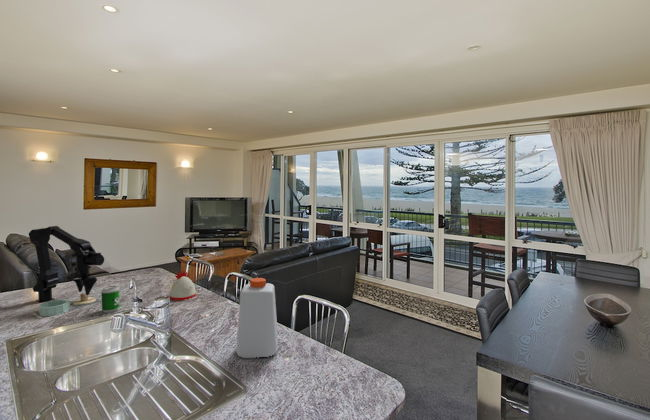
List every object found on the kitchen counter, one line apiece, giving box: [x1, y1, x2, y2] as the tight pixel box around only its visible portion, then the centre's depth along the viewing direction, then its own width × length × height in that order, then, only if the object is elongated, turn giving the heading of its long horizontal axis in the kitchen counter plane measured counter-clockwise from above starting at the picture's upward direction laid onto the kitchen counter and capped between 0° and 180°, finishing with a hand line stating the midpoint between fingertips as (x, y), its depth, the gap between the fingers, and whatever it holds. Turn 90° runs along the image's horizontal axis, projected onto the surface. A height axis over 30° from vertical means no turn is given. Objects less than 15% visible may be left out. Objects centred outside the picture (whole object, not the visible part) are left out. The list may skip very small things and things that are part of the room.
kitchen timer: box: [169, 270, 197, 301], centre depth 188 cm, size 14×14×15 cm
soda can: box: [100, 285, 121, 314], centre depth 165 cm, size 8×8×12 cm
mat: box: [69, 296, 102, 309], centre depth 177 cm, size 14×12×1 cm
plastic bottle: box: [236, 277, 279, 359], centre depth 128 cm, size 15×15×28 cm
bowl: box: [38, 298, 71, 317], centre depth 163 cm, size 11×11×4 cm
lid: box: [72, 292, 97, 305], centre depth 177 cm, size 10×10×4 cm
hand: (83, 293), depth 176 cm, fingers open, 9 cm apart
